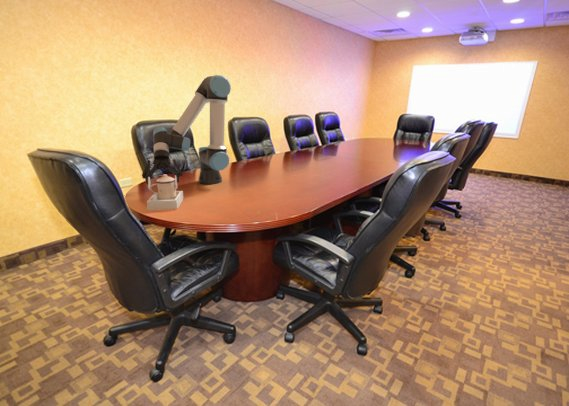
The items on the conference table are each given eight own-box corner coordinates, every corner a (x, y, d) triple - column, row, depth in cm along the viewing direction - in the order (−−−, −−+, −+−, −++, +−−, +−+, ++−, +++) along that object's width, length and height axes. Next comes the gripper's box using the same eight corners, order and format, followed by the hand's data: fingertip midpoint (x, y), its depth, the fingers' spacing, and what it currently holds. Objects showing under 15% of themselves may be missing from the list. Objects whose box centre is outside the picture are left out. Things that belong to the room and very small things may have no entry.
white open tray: (183, 198, 170) (182, 190, 168) (177, 209, 154) (176, 200, 152) (156, 199, 168) (155, 191, 167) (147, 210, 152) (146, 201, 151)
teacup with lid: (177, 193, 165) (174, 172, 161) (176, 198, 156) (174, 175, 153) (152, 195, 161) (149, 173, 157) (151, 200, 153) (148, 177, 149)
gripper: (185, 156, 171) (188, 190, 162) (138, 158, 164) (138, 193, 155) (184, 148, 165) (187, 182, 156) (135, 149, 158) (135, 186, 149)
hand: (163, 188), depth 155 cm, fingers closed on teacup with lid, 12 cm apart
